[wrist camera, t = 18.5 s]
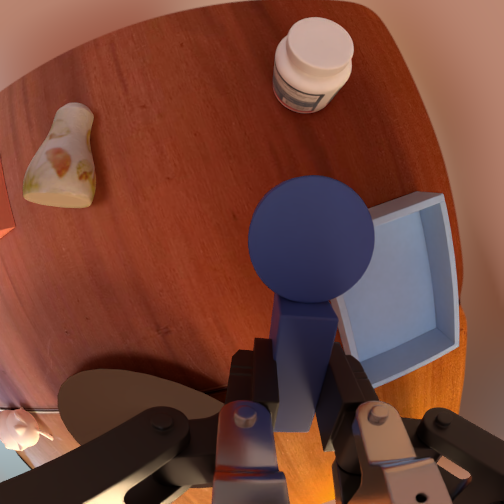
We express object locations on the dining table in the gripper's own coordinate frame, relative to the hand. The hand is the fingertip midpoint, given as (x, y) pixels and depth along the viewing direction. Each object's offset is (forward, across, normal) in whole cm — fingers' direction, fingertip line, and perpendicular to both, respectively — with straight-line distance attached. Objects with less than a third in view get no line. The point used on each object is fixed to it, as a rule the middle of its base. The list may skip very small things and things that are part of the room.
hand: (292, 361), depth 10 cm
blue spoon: (+1, 0, -1) cm, 2 cm away
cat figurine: (+15, +39, +34) cm, 54 cm away
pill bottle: (+15, -1, -15) cm, 22 cm away
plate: (+15, +12, +25) cm, 32 cm away
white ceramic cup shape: (+15, +20, -8) cm, 26 cm away
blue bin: (+15, -11, +2) cm, 19 cm away
